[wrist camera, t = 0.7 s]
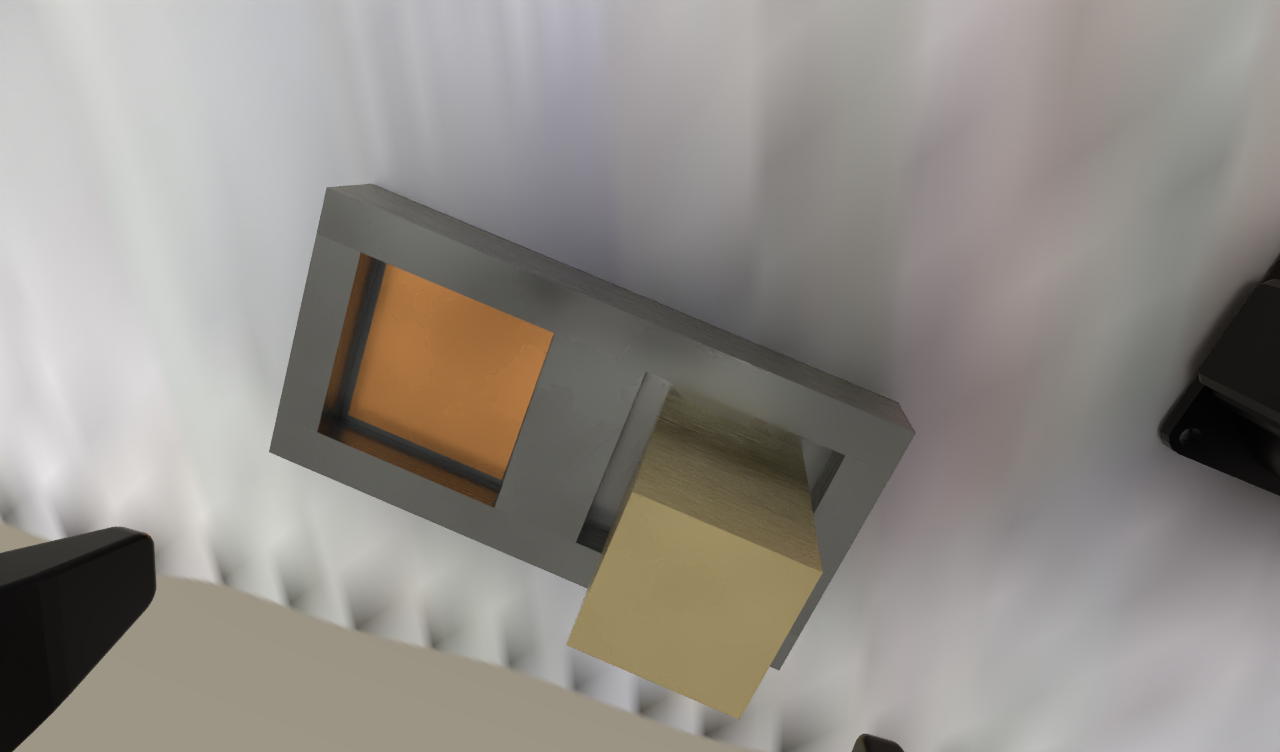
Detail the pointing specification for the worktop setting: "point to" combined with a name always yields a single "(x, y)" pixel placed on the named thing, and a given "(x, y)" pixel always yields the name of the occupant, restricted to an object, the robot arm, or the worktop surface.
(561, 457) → the grey slotted board
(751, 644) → the light wood beam
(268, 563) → the worktop surface
